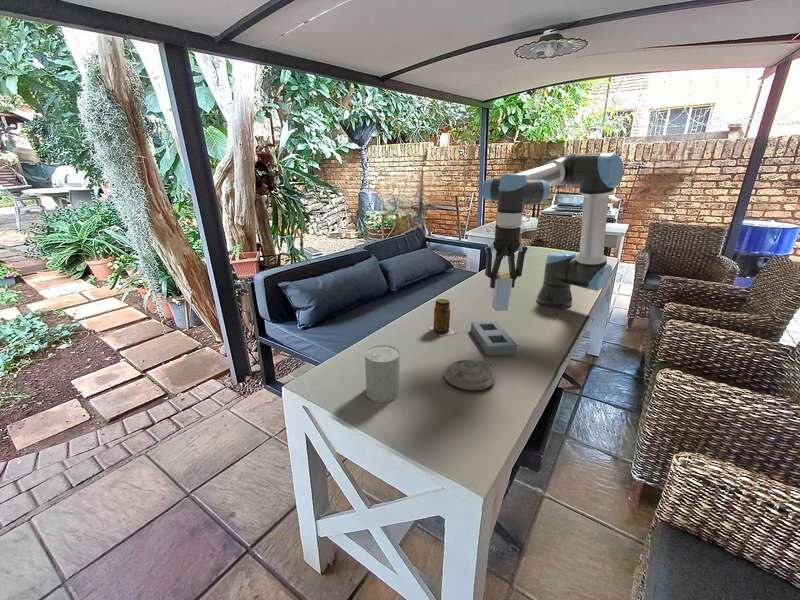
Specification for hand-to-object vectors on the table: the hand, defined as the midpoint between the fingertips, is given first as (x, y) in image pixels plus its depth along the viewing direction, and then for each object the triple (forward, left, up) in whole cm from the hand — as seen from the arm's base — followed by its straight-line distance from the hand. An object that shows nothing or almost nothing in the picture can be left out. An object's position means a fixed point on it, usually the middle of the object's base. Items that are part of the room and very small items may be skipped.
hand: (500, 296), depth 122 cm
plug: (0, 0, -4) cm, 4 cm away
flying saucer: (+15, +18, -19) cm, 31 cm away
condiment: (+16, -16, -19) cm, 29 cm away
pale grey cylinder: (+41, +22, -19) cm, 50 cm away
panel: (0, -5, -19) cm, 20 cm away
